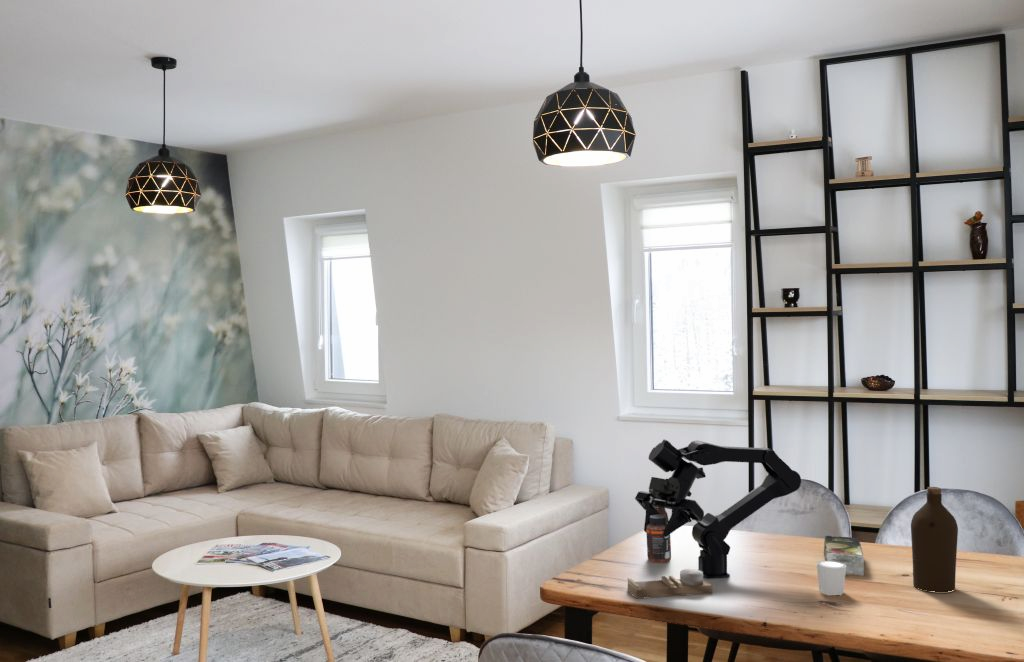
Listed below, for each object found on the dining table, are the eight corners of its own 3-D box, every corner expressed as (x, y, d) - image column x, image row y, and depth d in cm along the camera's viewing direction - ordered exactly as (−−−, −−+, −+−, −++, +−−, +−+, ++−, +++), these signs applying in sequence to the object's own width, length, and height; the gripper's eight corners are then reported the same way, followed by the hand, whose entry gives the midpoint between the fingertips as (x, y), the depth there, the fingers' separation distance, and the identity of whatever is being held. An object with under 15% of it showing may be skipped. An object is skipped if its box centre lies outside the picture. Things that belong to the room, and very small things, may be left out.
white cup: (832, 598, 212) (832, 569, 212) (810, 590, 218) (810, 562, 218) (852, 594, 215) (852, 565, 215) (830, 586, 221) (830, 558, 221)
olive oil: (966, 594, 214) (966, 492, 214) (922, 594, 214) (922, 492, 214) (945, 581, 225) (945, 483, 225) (903, 581, 225) (903, 484, 225)
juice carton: (866, 577, 229) (866, 554, 229) (826, 574, 232) (826, 551, 232) (860, 558, 248) (859, 536, 248) (823, 556, 251) (822, 534, 251)
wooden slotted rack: (701, 585, 222) (701, 567, 222) (712, 593, 216) (712, 575, 216) (627, 590, 218) (627, 572, 218) (636, 598, 212) (636, 579, 212)
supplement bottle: (675, 562, 221) (673, 517, 220) (652, 565, 220) (650, 520, 219) (666, 555, 227) (664, 512, 226) (644, 558, 225) (642, 514, 225)
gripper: (637, 460, 232) (611, 510, 225) (695, 468, 218) (668, 521, 211) (658, 485, 237) (633, 534, 231) (715, 494, 223) (690, 547, 216)
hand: (654, 533), depth 222 cm, fingers closed on supplement bottle, 6 cm apart
